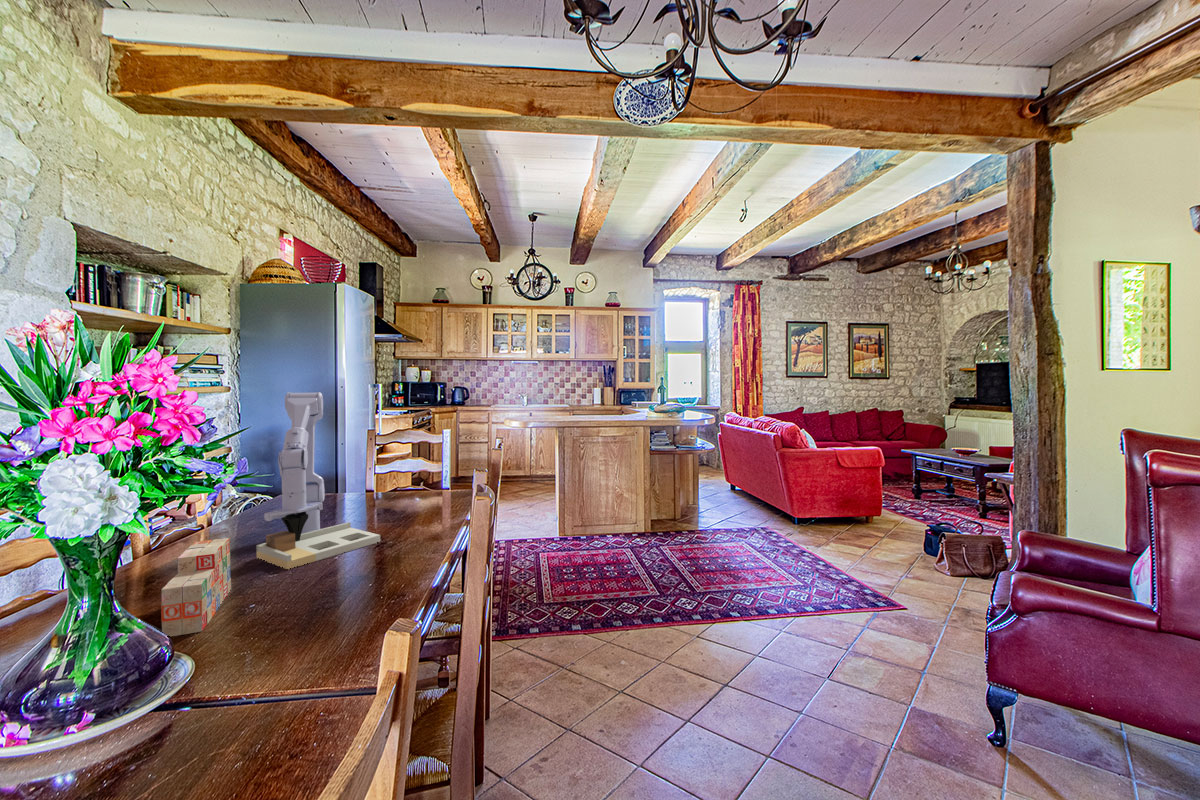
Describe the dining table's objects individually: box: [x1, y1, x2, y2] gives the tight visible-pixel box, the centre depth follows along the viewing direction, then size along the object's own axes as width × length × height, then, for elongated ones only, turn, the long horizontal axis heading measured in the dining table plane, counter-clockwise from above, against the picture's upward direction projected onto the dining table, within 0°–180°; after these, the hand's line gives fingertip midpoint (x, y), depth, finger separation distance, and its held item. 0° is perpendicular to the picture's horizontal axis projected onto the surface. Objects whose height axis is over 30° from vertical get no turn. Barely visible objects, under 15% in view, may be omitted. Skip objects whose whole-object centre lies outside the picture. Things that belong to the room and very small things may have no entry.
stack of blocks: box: [160, 537, 232, 638], centre depth 104 cm, size 21×6×12 cm, turn 24°
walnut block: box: [265, 530, 296, 552], centre depth 137 cm, size 5×5×4 cm
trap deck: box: [255, 522, 381, 570], centre depth 142 cm, size 16×26×4 cm, turn 148°
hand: (295, 540), depth 140 cm, fingers closed
